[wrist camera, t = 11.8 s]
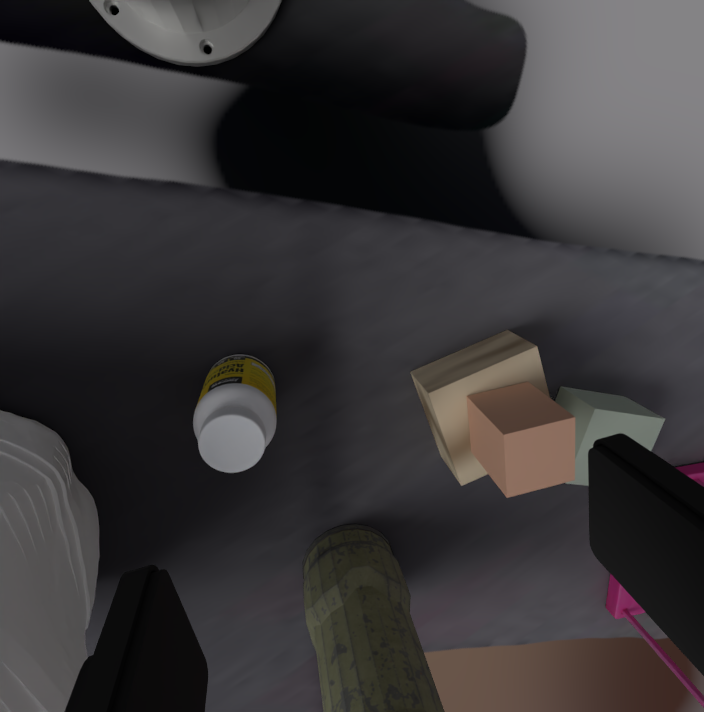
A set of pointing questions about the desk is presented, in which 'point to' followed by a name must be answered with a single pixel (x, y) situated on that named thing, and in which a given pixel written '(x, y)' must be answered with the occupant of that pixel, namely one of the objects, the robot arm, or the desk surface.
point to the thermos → (364, 626)
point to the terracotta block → (522, 438)
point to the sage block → (605, 423)
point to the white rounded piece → (42, 567)
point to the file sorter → (626, 606)
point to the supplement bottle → (235, 413)
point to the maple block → (472, 392)
